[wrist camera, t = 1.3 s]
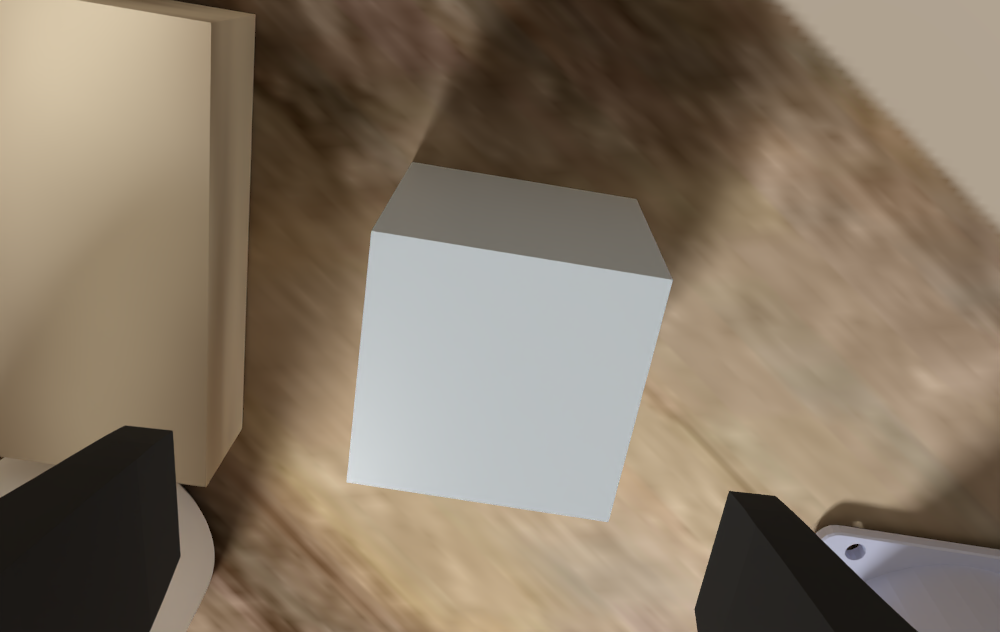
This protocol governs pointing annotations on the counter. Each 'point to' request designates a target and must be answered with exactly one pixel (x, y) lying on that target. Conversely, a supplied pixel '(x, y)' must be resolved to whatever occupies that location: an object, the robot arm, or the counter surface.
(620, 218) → the block
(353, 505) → the counter surface
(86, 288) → the base
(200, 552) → the can
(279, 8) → the counter surface
